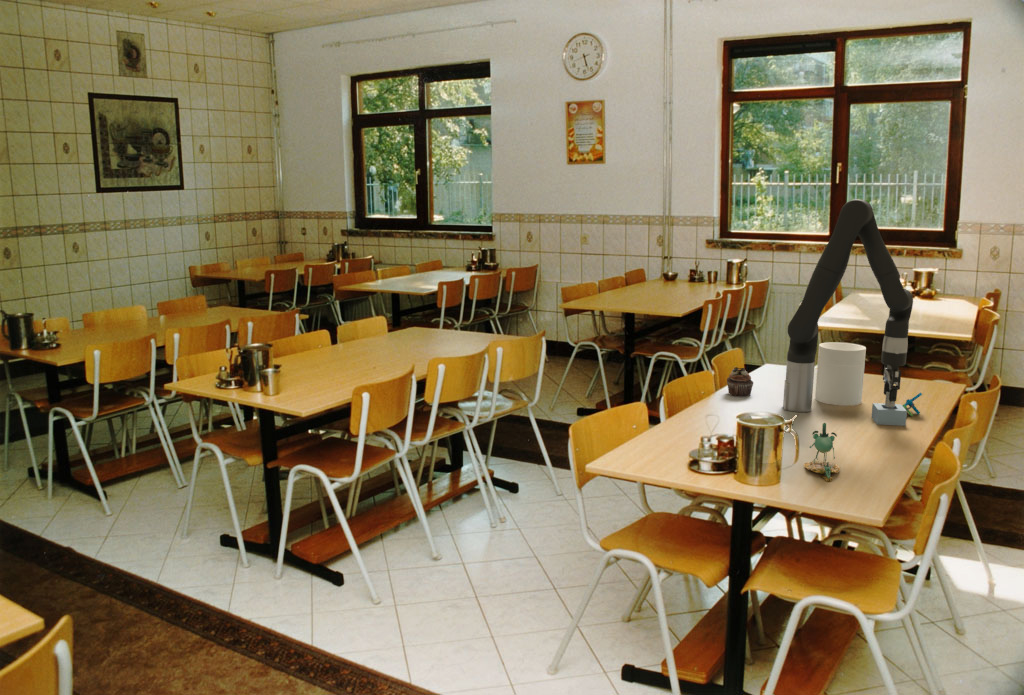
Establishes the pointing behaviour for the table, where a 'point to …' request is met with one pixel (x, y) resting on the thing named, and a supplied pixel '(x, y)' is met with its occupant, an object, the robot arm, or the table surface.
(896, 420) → the socket block
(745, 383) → the cupcake
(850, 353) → the canister
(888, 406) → the pin
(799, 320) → the robot arm
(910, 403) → the teal lobed toy
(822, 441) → the frog figurine
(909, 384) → the table surface
